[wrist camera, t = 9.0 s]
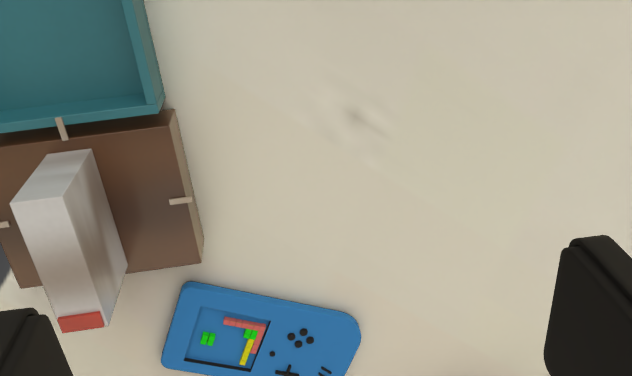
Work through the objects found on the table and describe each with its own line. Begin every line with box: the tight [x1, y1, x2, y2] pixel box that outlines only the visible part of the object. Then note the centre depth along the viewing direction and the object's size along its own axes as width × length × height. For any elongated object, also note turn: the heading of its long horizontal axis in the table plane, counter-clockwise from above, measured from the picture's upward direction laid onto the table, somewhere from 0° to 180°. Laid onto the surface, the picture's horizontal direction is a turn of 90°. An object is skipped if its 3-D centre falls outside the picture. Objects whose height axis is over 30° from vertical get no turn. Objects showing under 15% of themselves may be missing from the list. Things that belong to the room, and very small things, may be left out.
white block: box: [9, 149, 128, 333], centre depth 32 cm, size 8×3×6 cm, turn 5°
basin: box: [0, 0, 165, 133], centre depth 30 cm, size 13×11×3 cm
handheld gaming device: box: [161, 281, 361, 376], centre depth 44 cm, size 8×1×15 cm
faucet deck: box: [0, 109, 204, 289], centre depth 36 cm, size 13×13×3 cm
